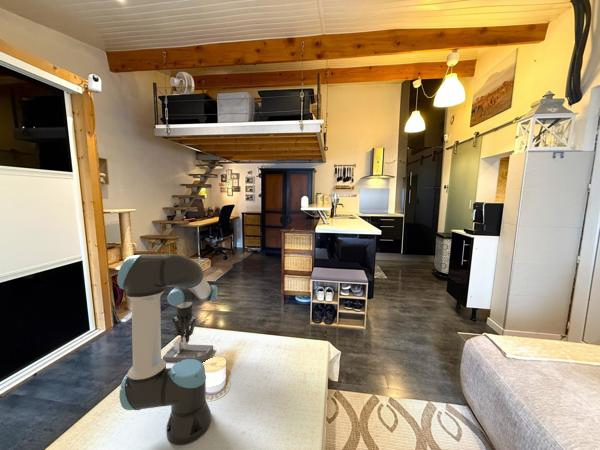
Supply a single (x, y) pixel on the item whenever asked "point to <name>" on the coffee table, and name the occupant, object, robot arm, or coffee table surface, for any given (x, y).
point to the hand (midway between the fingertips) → (185, 347)
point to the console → (189, 353)
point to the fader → (178, 345)
